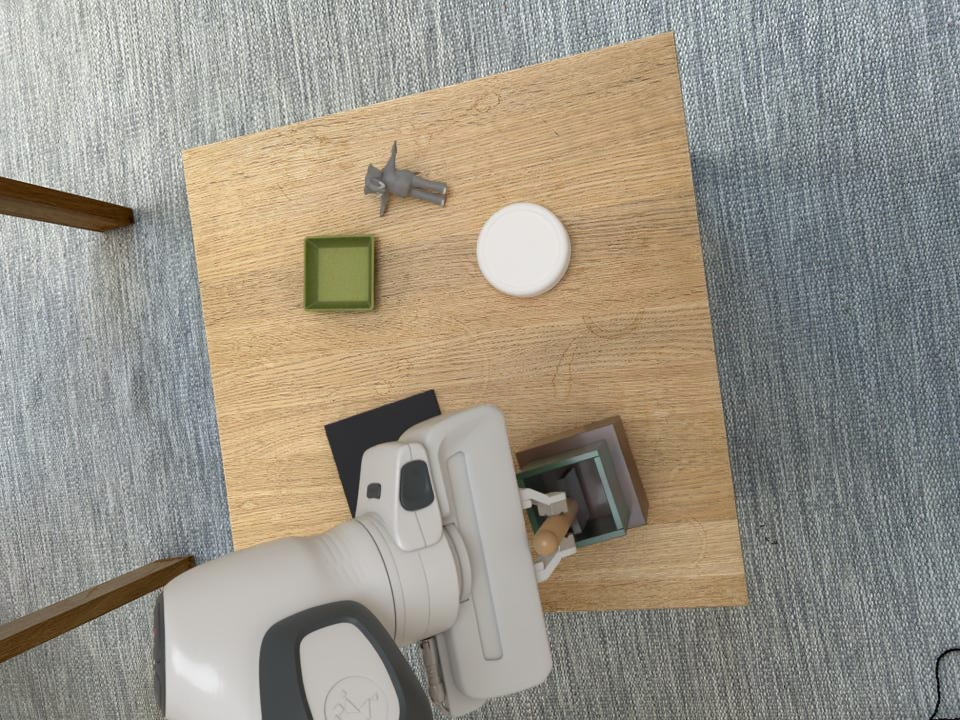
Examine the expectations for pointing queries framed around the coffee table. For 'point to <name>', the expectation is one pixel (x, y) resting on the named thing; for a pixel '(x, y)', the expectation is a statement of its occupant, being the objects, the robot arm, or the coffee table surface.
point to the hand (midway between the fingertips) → (566, 520)
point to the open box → (589, 478)
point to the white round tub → (523, 250)
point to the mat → (374, 435)
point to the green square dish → (339, 273)
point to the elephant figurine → (400, 183)
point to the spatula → (563, 516)
